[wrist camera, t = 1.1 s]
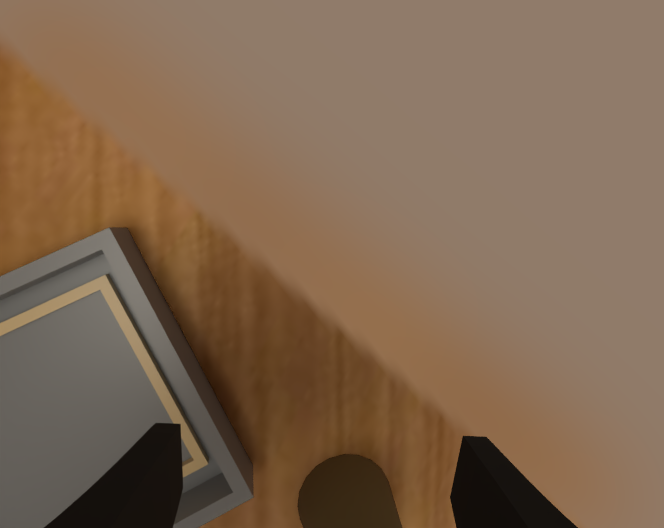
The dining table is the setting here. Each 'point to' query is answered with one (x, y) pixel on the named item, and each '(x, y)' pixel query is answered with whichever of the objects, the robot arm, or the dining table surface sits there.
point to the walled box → (102, 385)
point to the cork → (347, 495)
